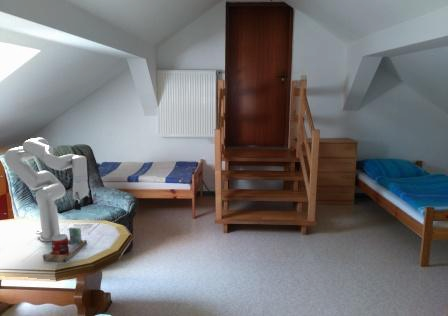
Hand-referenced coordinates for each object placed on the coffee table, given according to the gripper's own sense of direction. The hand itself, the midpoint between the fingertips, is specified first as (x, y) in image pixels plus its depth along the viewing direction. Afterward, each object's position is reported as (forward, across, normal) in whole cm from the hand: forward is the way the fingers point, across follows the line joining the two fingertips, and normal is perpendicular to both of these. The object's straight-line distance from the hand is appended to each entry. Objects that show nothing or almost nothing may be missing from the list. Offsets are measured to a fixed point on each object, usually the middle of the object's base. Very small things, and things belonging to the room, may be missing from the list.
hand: (82, 206), depth 201 cm
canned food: (+22, +17, -5) cm, 28 cm away
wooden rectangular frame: (+22, +12, -5) cm, 25 cm away
